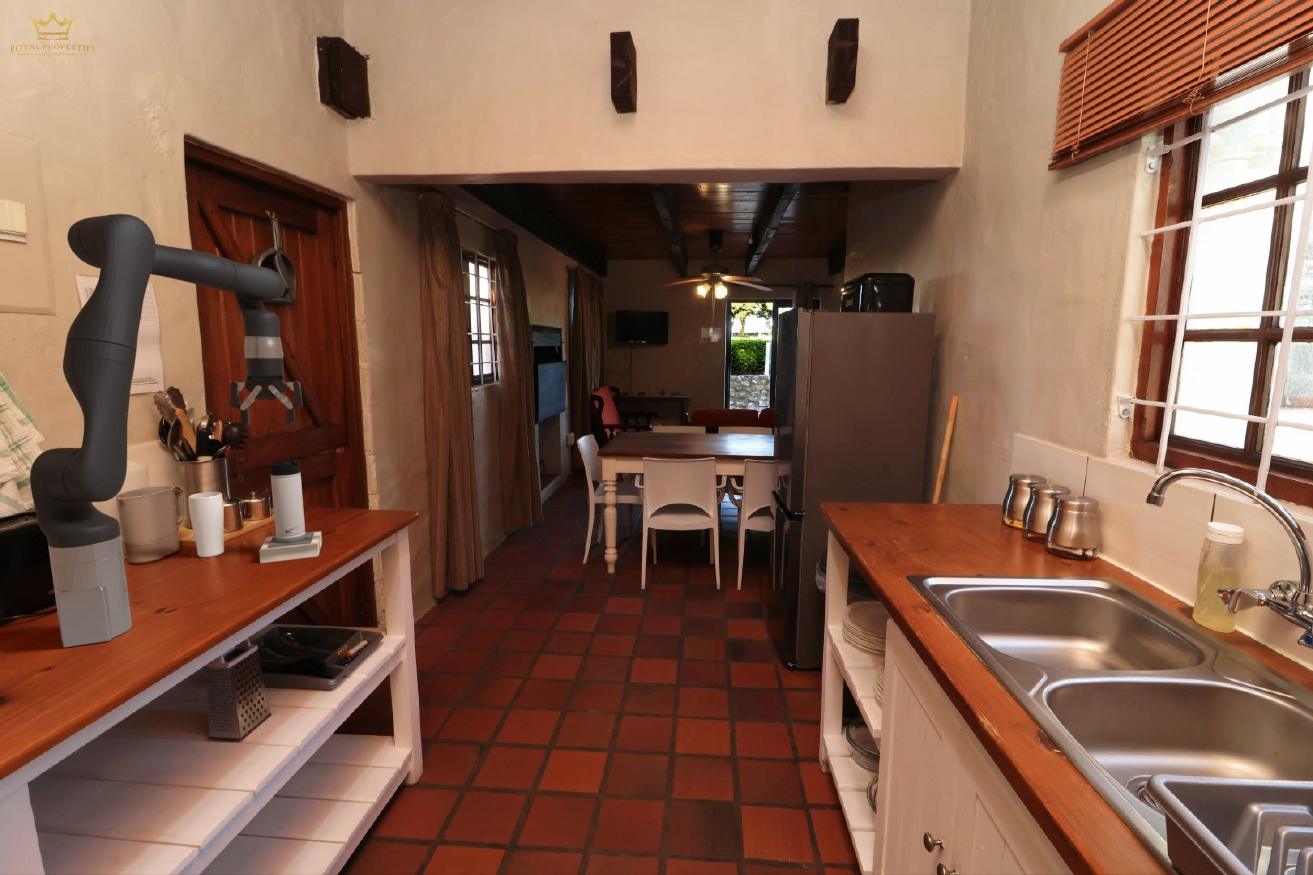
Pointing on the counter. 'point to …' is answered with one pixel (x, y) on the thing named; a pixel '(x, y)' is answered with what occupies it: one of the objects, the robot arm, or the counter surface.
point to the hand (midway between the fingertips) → (269, 425)
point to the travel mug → (287, 501)
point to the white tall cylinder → (207, 522)
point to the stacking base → (291, 548)
